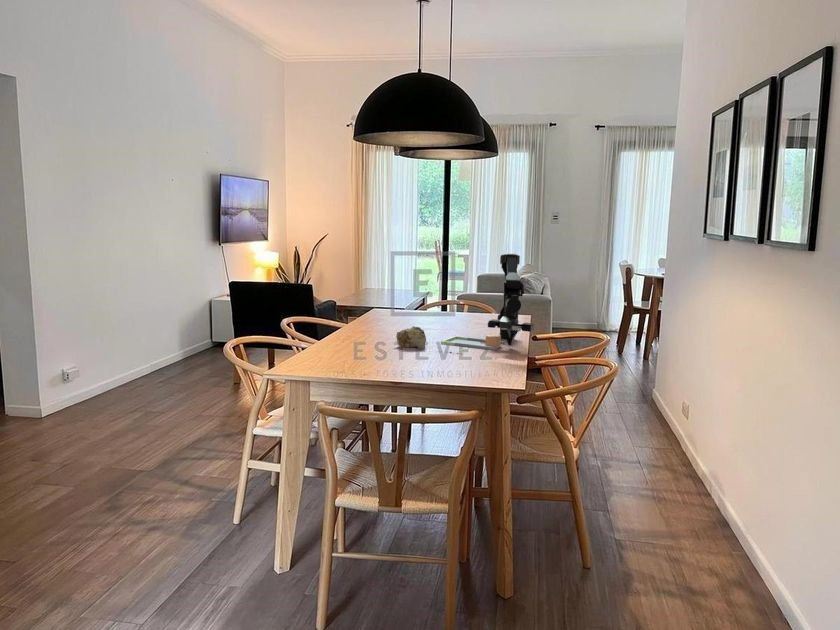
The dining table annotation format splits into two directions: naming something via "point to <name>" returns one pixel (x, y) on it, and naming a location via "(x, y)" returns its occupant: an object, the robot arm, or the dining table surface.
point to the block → (493, 340)
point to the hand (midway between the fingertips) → (509, 345)
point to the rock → (411, 337)
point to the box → (468, 342)
